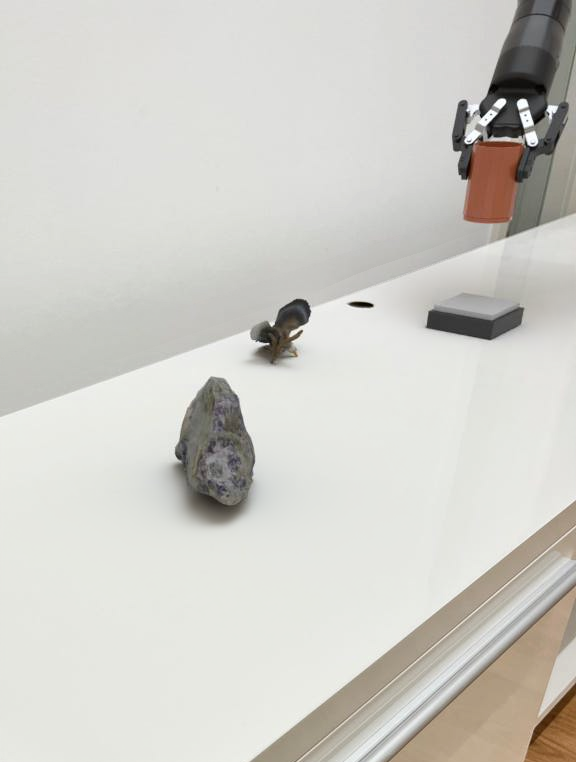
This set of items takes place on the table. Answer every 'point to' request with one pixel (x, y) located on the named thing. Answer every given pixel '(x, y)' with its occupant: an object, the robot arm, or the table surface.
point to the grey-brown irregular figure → (283, 328)
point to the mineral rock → (216, 444)
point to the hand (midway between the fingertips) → (491, 177)
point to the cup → (492, 181)
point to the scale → (475, 315)
